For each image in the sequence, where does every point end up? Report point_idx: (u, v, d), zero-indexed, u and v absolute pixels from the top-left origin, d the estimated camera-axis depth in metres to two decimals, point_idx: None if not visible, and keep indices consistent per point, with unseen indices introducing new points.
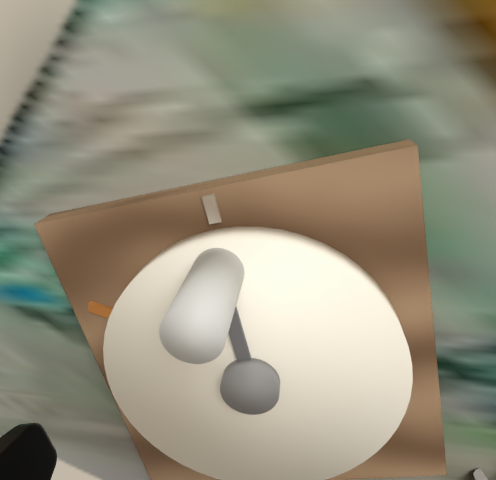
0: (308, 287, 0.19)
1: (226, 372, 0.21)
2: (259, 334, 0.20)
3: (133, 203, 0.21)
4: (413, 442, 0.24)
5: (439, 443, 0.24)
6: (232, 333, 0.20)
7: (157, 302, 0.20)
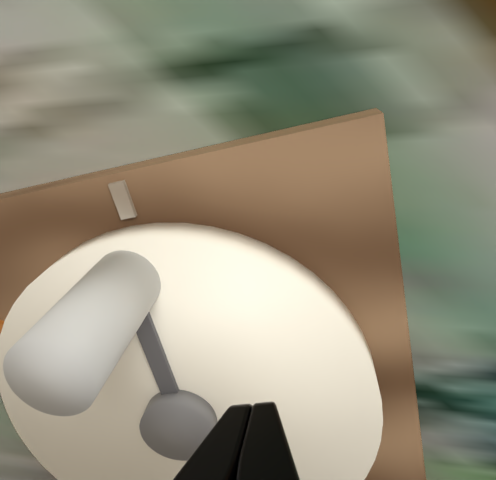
0: (243, 302, 0.15)
1: (147, 408, 0.16)
2: (186, 361, 0.16)
3: (25, 193, 0.16)
4: None
5: None
6: (151, 359, 0.16)
7: None
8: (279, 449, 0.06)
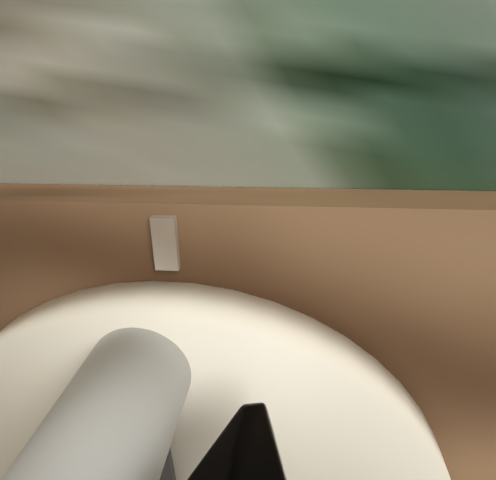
0: (309, 424, 0.10)
1: None
2: None
3: (14, 200, 0.10)
4: None
5: None
6: None
7: (17, 403, 0.11)
8: (267, 450, 0.06)
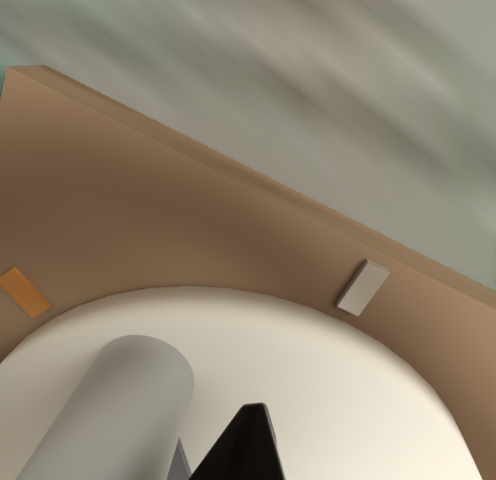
0: (317, 414, 0.10)
1: None
2: None
3: (239, 181, 0.10)
4: None
5: None
6: None
7: (32, 421, 0.11)
8: (266, 450, 0.06)
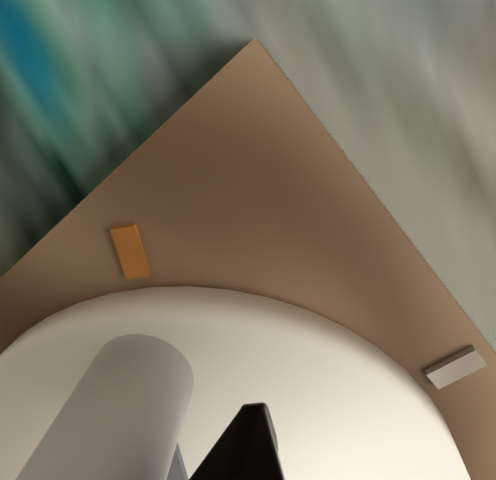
0: (315, 417, 0.10)
1: None
2: None
3: (405, 238, 0.10)
4: None
5: None
6: None
7: (27, 417, 0.11)
8: (265, 450, 0.06)
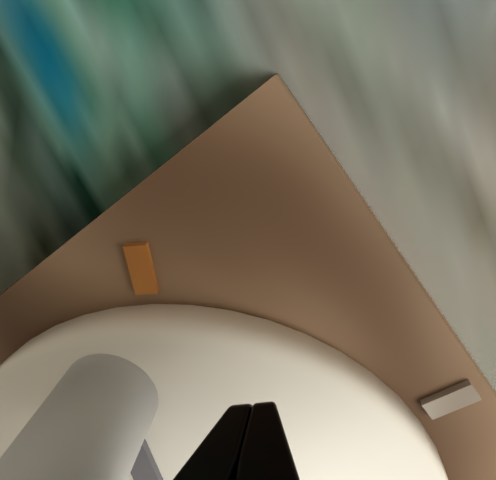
0: None
1: None
2: None
3: (409, 273, 0.10)
4: None
5: None
6: None
7: (13, 437, 0.11)
8: (279, 449, 0.06)
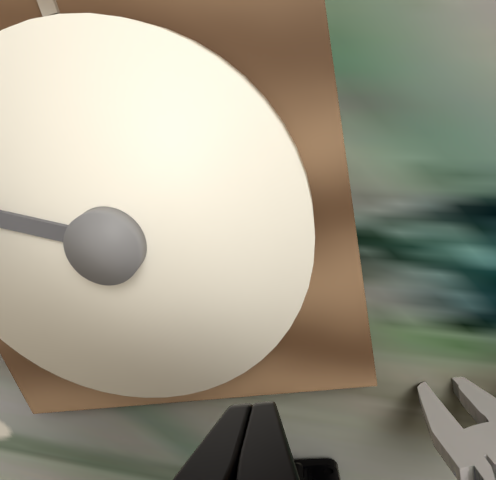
0: None
1: None
2: (42, 201, 0.16)
3: None
4: (333, 341, 0.19)
5: (365, 341, 0.19)
6: (30, 230, 0.16)
7: None
8: (279, 449, 0.06)
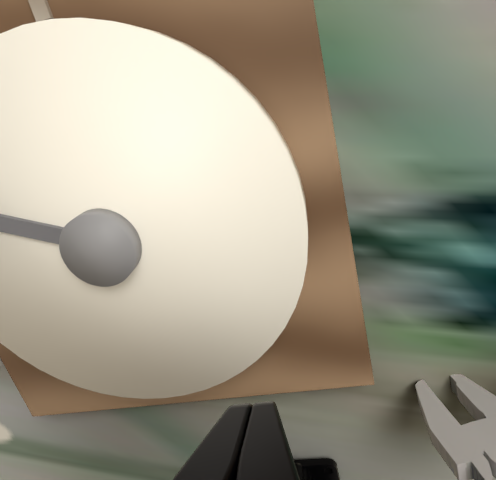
0: None
1: None
2: (38, 204, 0.16)
3: None
4: (329, 340, 0.19)
5: (361, 340, 0.19)
6: (27, 233, 0.17)
7: None
8: (279, 449, 0.06)
